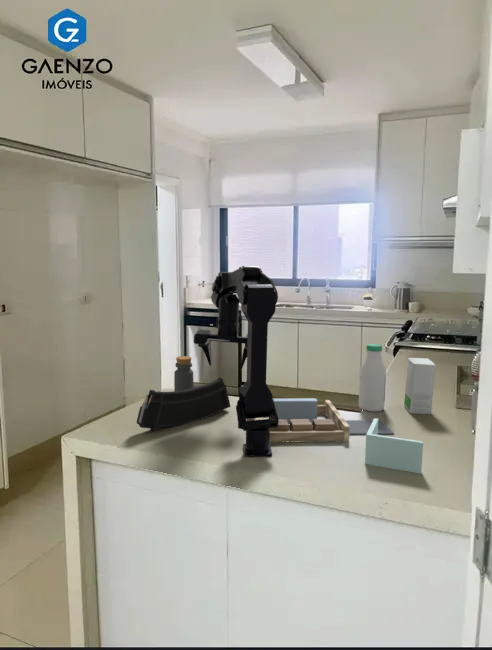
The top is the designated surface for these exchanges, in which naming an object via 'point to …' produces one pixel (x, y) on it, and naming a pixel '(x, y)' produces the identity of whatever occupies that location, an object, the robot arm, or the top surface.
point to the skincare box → (419, 385)
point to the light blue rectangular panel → (296, 408)
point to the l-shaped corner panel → (392, 451)
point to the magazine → (182, 405)
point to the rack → (336, 435)
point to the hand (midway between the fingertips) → (226, 366)
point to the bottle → (183, 374)
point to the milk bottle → (372, 380)
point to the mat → (366, 427)
